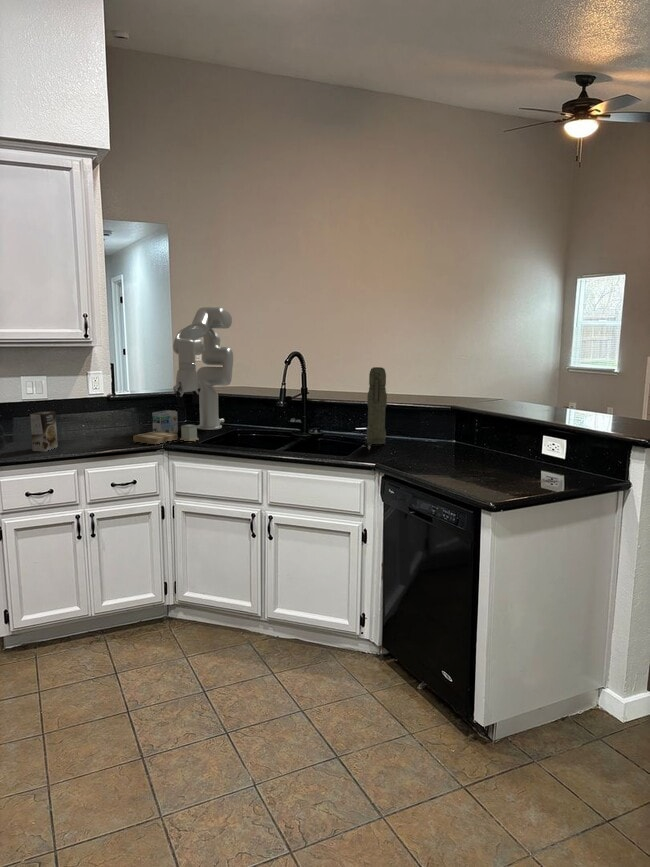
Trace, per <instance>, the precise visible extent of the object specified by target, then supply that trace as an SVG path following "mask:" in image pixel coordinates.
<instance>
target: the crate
mask: <svg viewBox="0 0 650 867" xmlns="http://www.w3.org/2000/svg"><path fill="white" fill-rule="evenodd" d="M197 426H198V425H195V424H190V423H189V424H183V425H181V426H180V428H181V429H180V431H181V432H180V434H181V438H179V441H180V440H184V441H194V442H197V441H196V440H198V441H199V439H200V438H199V437H198V428H197Z"/></svg>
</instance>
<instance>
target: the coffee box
mask: <svg viewBox="0 0 650 867" xmlns="http://www.w3.org/2000/svg"><path fill="white" fill-rule="evenodd" d="M29 415H30V429H31V431H30V432H31V446H32V447H31V448H32V451H33V452H43V453H46V452H48V450H49V451H51V449H52V450H54V448H55V449H58V448H57V447H58V434H57V433H58V432H57V429H58V428H57V417H56V411H49V410H48V411H38V412H34V413H30V414H29Z"/></svg>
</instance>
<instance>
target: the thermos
mask: <svg viewBox="0 0 650 867" xmlns="http://www.w3.org/2000/svg"><path fill="white" fill-rule="evenodd" d="M368 376H369V378H368V385H369V388H368V392H367V397H366V398H367V399H366V400H367V405H366V406H367V408H368V409H367V428H366V438H365V439H366V444H367V443H368V444H367V445H369V444H384V445H386V439H387V430H386V408H387V404H388V403H387V401H388V400H387V398H388V394H387V390H386V385H387V384H386V383H387V381H386V380H387V374H386V370H385V368H384V367H382V366H381V367H380V366H379V367H374V366H373V367H371V368H370V371H369V375H368Z"/></svg>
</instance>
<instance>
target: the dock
mask: <svg viewBox="0 0 650 867" xmlns="http://www.w3.org/2000/svg"><path fill="white" fill-rule="evenodd" d="M132 437H133V438H132V439H133V442H134V441H135V442H134V443H136V442H141V443H140V444H142V443H147V444H146V445H148V444H155V445H156V444H160V443H163V442H167V441H172V440H177V439H178V438H179V436H178V433H166V432H159V431H154V432H153V431H150V432H146V433H140V434H139V433H138V434H135V435H132ZM178 440H179V439H178ZM160 445H161V444H160ZM156 446H157V445H156Z"/></svg>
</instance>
